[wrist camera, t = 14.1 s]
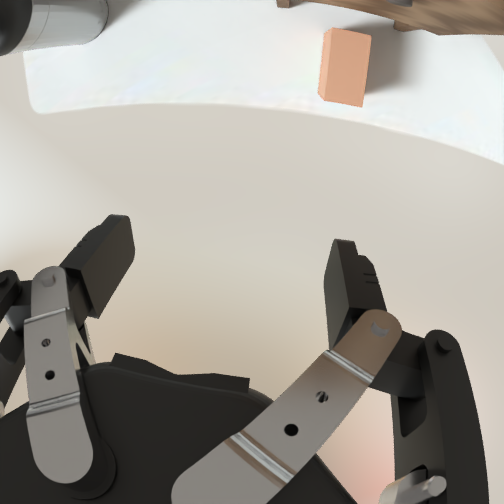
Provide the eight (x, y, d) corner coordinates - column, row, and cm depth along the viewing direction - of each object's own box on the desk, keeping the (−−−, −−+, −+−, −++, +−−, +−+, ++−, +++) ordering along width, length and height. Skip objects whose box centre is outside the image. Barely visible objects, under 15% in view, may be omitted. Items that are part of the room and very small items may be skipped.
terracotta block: (317, 93, 37) (324, 100, 31) (324, 33, 32) (332, 27, 26) (349, 98, 37) (362, 107, 31) (356, 39, 32) (371, 35, 25)
